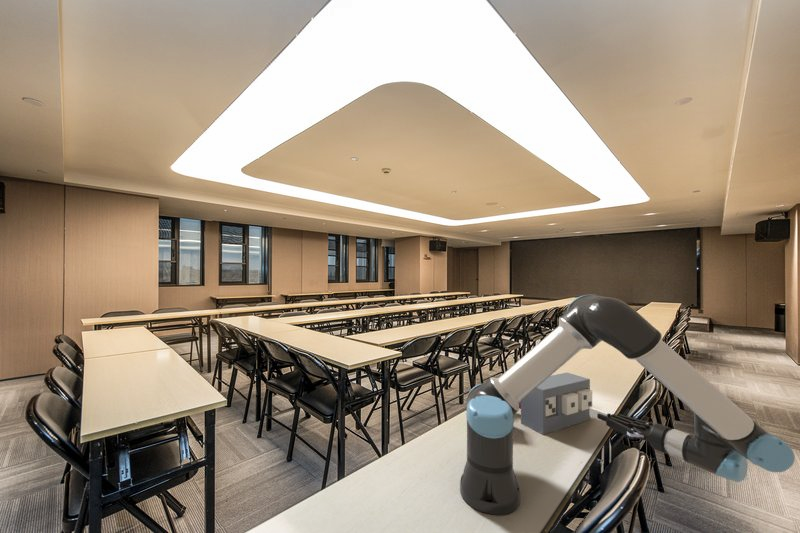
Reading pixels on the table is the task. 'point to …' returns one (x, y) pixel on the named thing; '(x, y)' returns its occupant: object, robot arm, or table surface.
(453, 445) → the table surface
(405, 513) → the table surface
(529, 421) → the tile console
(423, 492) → the table surface
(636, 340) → the robot arm
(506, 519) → the table surface
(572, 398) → the one dot tile
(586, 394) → the two dot tile
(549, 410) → the three dot tile
